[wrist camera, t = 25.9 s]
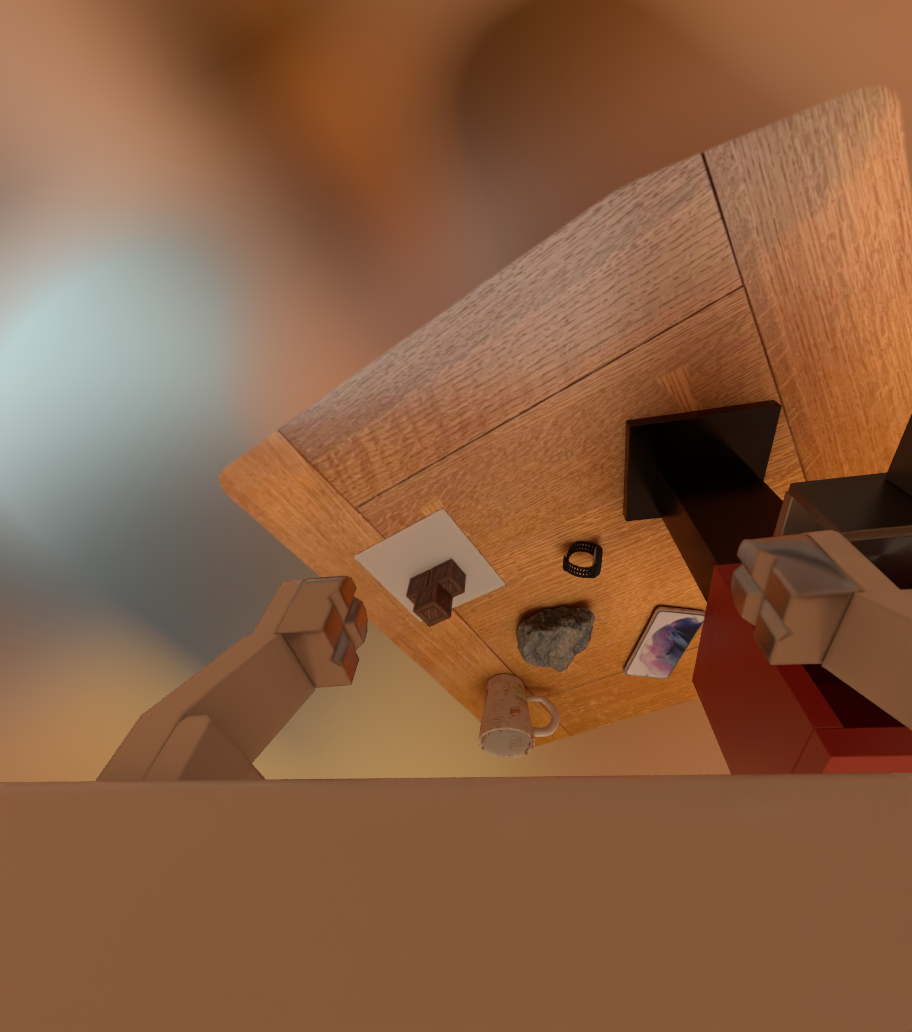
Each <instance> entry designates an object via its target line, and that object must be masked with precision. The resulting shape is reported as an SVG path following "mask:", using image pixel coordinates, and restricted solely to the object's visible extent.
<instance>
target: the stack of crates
mask: <svg viewBox="0 0 912 1032" xmlns="http://www.w3.org/2000/svg"><path fill="white" fill-rule="evenodd" d="M353 557H354V558H355V559H356V560H357V561H358V562H359V563H360V564H361V565H362V566H363V567H365V568H366V569H367V570H368V571H369V572H370V573H371V574H372V575H373V576H374V577H375V578H376V579H377V580H378V581H379V582H380V583H381V584H382V585H383V586H384V587H385V588H386V589H387V590H388V591H389V592H390V593H391V594H392V595H393V596H394V597H395V598H396V599H397V600H398V601H399V602H400V603H401V604H402V605H403V606H405V607H406V608H407V609H408V610H409V611H410V612H411V613H412V614H413V615H414V616H415V617H416V618H417V619H418V620H419V621H420V622H421V621H424V622H425V623H426V624H427V625H428V626H429V627H431V626H433V625H435V624H437V623H439V622H442V621H444V620H446V619H448V618H450V617H451V611H452V608H454V607H456V606H458V605H461V604H463V603H465V602H468V601H470V600H472V599H475V598H477V597H479V596H482V595H484V594H486V593H489V592H491V591H493V590H496V589H498V588H500V587H503V586H505V585H506V584H505V583H504V581H503V580H502V579H501V578H500V577H499V575H498V574H497V573H496V572H495V571H494V569H493V568H492V567H491V566H490V565H489V563H488V562H487V561H486V560H485V558H484V557H483V556H482V555H481V554H480V552H479V551H478V550H477V549H476V548H475V546H474V545H473V544H472V543H471V542H470V540H469V539H468V538H467V537H466V535H465V534H464V533H463V532H462V531H461V529H460V528H459V527H458V526H457V525H456V523H455V522H454V521H453V520H452V519H451V517H450V516H449V515H448V514H447V512H446V511H445V510H444V509H441V510H439V511H437V512H435V513H433V514H432V515H430V516H428V517H426V518H424V519H422V520H420V521H419V522H417V523H415V524H413V525H411V526H409V527H407V528H406V529H404V530H402V531H400V532H398V533H396V534H394V535H393V536H391V537H389V538H387V539H385V540H383V541H381V542H379V543H378V544H376V545H374V546H372V547H370V548H368V549H366V550H365V551H363V552H361V553H359V554H357V555H355V556H353Z"/></svg>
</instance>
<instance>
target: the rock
mask: <svg viewBox="0 0 912 1032" xmlns="http://www.w3.org/2000/svg"><path fill="white" fill-rule="evenodd" d="M594 620H595V617H594V614H593V613H592V612H591V611H590V610H589V609H587V608H586V607H581V608H576V609H575V608H573V609H572V608H569V607H566V606H561V607H559V608H555V609H553V610H552V609H546V610H543V611H540V612H537V613H536V614H534V615H532V616H531V617H530V618H528V619H527V618H524V619H522V622H521V623H520V625H519V627H518V629H517V640H518V649H519V651H520V654H521V655H522V657H523V659H524V660H525V661H526V662H527V663H529V664H531V665H535V666H542V667H552V668H554V669H556V670H557V671H559V672H561V671H563V670H566V669H567V668H568V666H569V664H570V662H571V661H572V660H573V658H574V656H575V655H576V654H577V653H580V652H581V651H583V650H584V649H586V647H587V644H588V643H589V641H590V639H591V631H592V629H593V626H592V624H593V622H594Z"/></svg>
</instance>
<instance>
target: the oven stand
mask: <svg viewBox="0 0 912 1032" xmlns="http://www.w3.org/2000/svg"><path fill="white" fill-rule="evenodd" d="M780 411H781V405H780V404H779V403H777V402H776V401H774V400H771V401H764V402H757V403H750V404H743V405H736V406H728V407H721V408H714V409H707V410H700V411H693V412H686V413H679V414H672V415H664V416H657V417H650V418H643V419H636V420H629V421H626V443H625V473H624V503H623V515H624V517H625V520H626V521H634V520H643V519H653V518H662V519H663V521H664V523H665V525H666V527H667V529H668V530H669V532H670V534H671V536H672V538H673V540H674V542H675V544H676V545H677V547H678V549H679V551H680V553H681V555H682V557H683V559H684V560H685V562H686V564H687V566H688V568H689V570H690V572H691V574H692V575H693V577H694V579H695V581H696V583H697V585H698V587H699V589H700V590H701V592H702V594H703V596H704V598H705V600H706V602H707V606H706V611H705V617H704V622H703V627H702V632H701V637H700V643H699V648H698V653H697V658H696V664H695V669H694V674H693V679H692V681H693V684H694V686H695V688H696V691H697V693H698V696H699V698H700V700H701V703H702V705H703V707H704V710H705V712H706V715H707V717H708V720H709V722H710V724H711V727H712V729H713V732H714V734H715V736H716V739H717V741H718V744H719V746H720V748H721V751H722V753H723V756H724V758H725V760H726V763H727V765H728V768H729V770H730V773H731V774H825V773H912V730H911V729H909V728H908V727H906V726H905V725H904V724H902V723H901V722H899V721H898V720H897V719H895V718H894V717H892V716H891V715H890V714H888V713H887V712H885V711H884V710H883V709H881V708H880V707H878V706H877V705H876V704H874V703H873V702H871V701H870V700H869V699H867V698H866V697H864V696H863V695H862V694H860V693H859V692H857V691H856V690H855V689H853V688H852V687H850V686H849V685H848V684H846V683H845V682H843V681H842V680H841V679H839V678H838V677H836V676H835V675H834V674H832V673H831V672H829V671H828V670H827V669H825V668H824V667H822V664H787V665H770V664H769V662H768V660H767V659H766V657H765V656H764V654H763V652H762V651H761V649H760V647H759V646H758V644H757V642H756V641H755V639H754V637H753V633H754V630H755V626H754V625H753V624H751V623H749V622H748V621H746V620H745V619H743V618H742V617H741V615H740V614H739V612H738V610H737V609H736V606H735V603H734V601H733V598H732V590H731V581H732V575H733V572H734V571H735V570H736V569H737V568H738V567H739V566H740V565H741V564H743V563H742V562H741V560H740V559H739V557H738V556H737V553H738V549H739V545H740V544H741V542H742V541H743V540H744V539H751V538H761V537H771V536H774V532H775V529H776V525H777V521H778V518H779V514H780V511H781V507H782V503H783V501H782V500H781V499H780V498H779V497H778V496H777V495H776V494H775V493H774V492H773V491H772V490H771V489H770V488H769V486H768V485H767V484H766V483H765V482H764V477H765V473H766V469H767V465H768V460H769V456H770V452H771V448H772V444H773V440H774V435H775V431H776V427H777V423H778V419H779V415H780Z"/></svg>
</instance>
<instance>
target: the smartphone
mask: <svg viewBox="0 0 912 1032" xmlns="http://www.w3.org/2000/svg"><path fill="white" fill-rule="evenodd" d="M704 617H705V612H703V611H698V610H689V609H679V608H670V607H659V608H657V609H656V610H655V612H654V614H653V616H652V618H651V620H650V622H649V624H648V625H647V627H646V629H645V631H644V633H643V635H642V637H641V639H640V641H639V643H638V644H637V646H636V648H635V650H634V652H633V654H632V655H631V657H630V659H629V661H628V663H627V664H626V666H625V668H624V673H625V674H626V675H632V676H642V677H652V678H661V679H665V678H668V677H669V675H670V674H671V672H672V671H673V669H674V668H675V666H676V664H677V663H678V661H679V660H680V658H681V657H682V655H683V653H684V652H685V650H686V649H687V647H688V645H689V644H690V642H691V641H692V639H693V638H694V636H695V634H696V633H697V631H698V630H699V628H700V627H701V625H702V623H703V622H704Z"/></svg>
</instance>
